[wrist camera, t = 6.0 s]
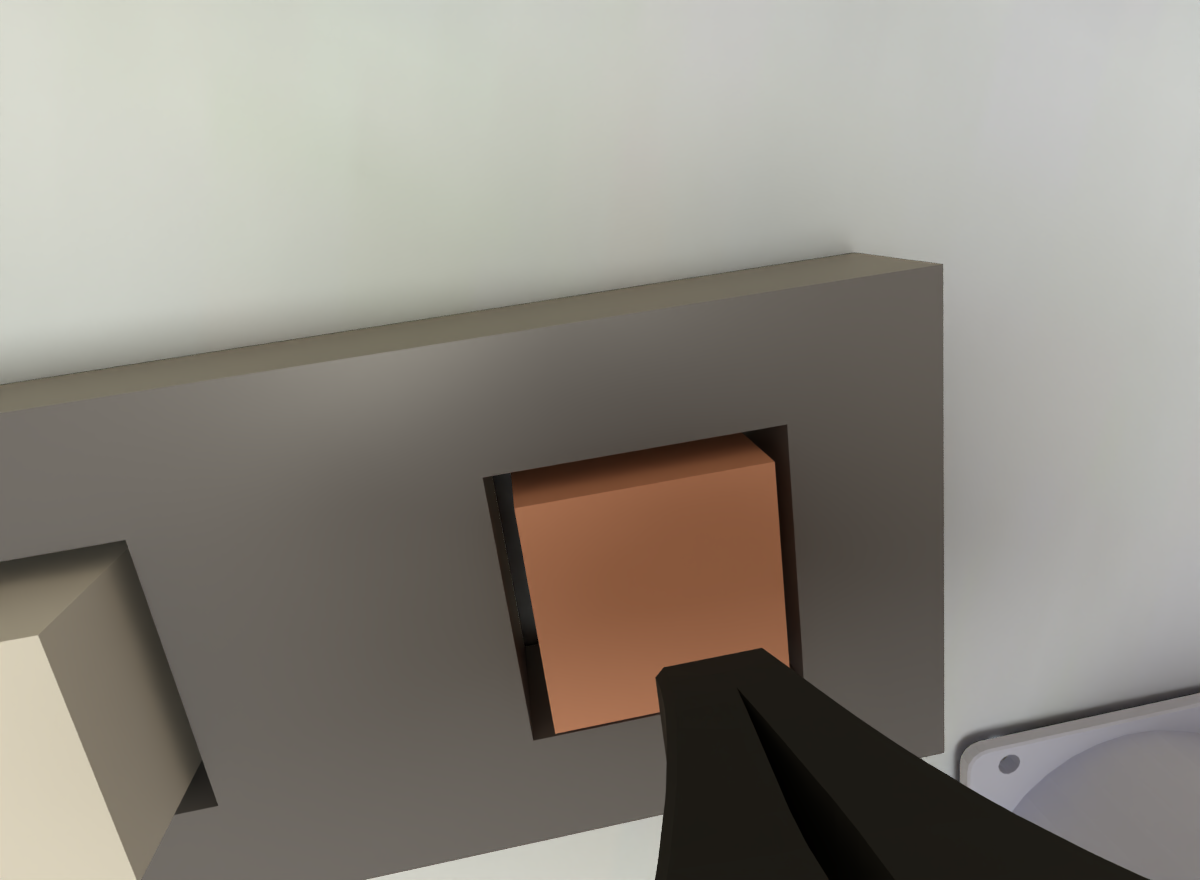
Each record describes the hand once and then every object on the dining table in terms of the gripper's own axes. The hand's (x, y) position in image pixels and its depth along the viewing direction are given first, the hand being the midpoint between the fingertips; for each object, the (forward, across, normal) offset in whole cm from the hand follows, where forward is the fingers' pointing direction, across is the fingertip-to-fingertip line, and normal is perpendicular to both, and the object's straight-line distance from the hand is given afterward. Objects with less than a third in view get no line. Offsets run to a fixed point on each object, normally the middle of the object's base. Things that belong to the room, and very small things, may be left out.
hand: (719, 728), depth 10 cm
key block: (+6, +5, 0) cm, 8 cm away
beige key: (+5, +10, 0) cm, 11 cm away
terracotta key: (+6, 0, 0) cm, 6 cm away
